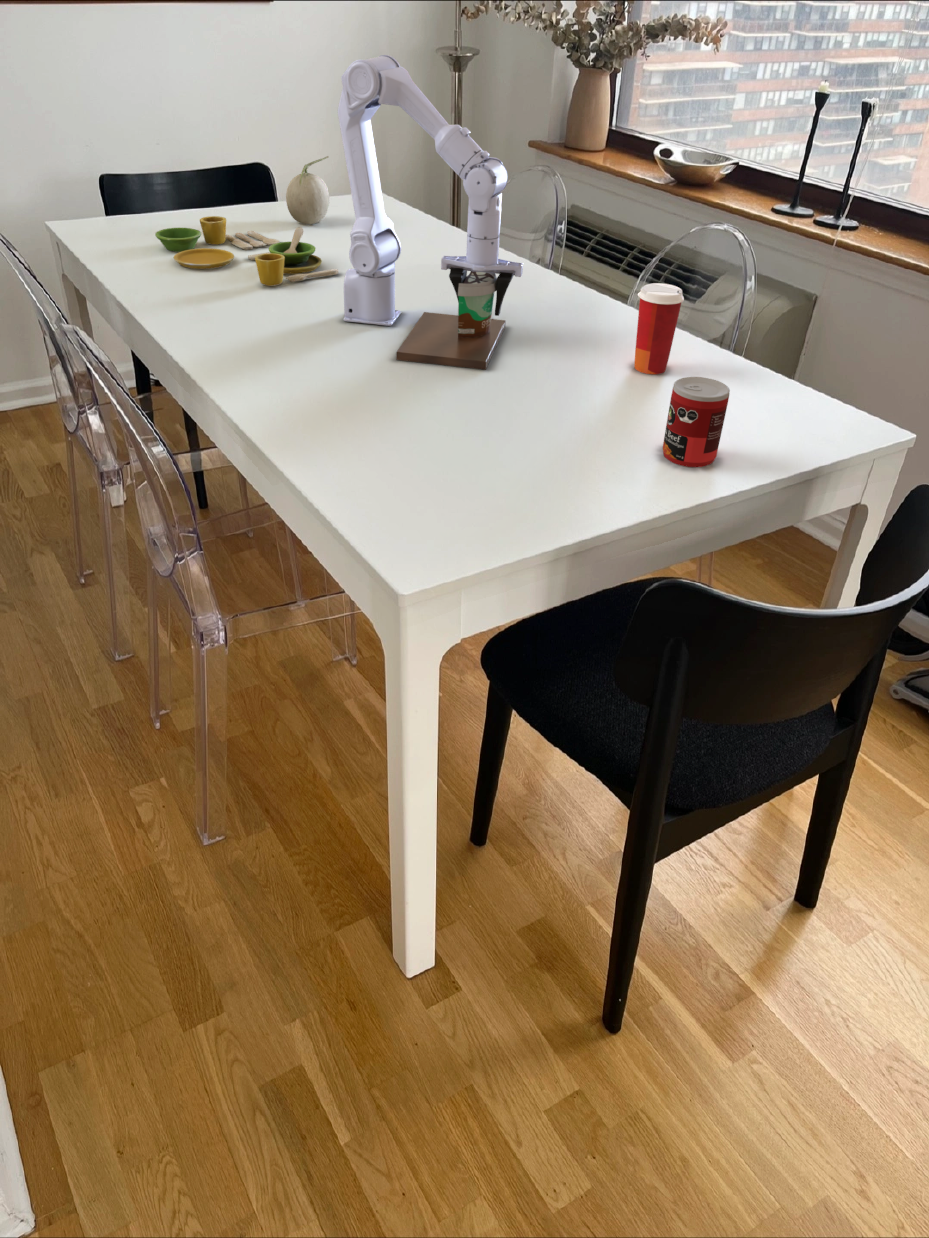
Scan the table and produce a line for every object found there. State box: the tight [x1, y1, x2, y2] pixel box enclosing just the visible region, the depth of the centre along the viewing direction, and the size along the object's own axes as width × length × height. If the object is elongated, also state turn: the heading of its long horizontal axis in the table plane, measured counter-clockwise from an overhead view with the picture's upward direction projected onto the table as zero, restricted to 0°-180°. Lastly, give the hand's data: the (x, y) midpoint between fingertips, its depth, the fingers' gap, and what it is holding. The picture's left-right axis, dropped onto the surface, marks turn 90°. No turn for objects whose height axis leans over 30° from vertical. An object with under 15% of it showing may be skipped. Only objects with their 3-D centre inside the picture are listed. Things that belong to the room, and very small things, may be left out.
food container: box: [457, 271, 498, 338], centre depth 179 cm, size 12×6×10 cm, turn 169°
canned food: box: [662, 376, 731, 468], centre depth 143 cm, size 8×8×11 cm
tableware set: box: [154, 215, 339, 287], centre depth 214 cm, size 41×28×6 cm
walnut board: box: [395, 311, 507, 371], centre depth 180 cm, size 16×22×2 cm
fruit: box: [285, 155, 330, 225], centre depth 239 cm, size 10×12×15 cm
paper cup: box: [633, 282, 685, 375], centre depth 170 cm, size 8×8×14 cm
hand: (479, 312), depth 180 cm, fingers closed on food container, 6 cm apart
